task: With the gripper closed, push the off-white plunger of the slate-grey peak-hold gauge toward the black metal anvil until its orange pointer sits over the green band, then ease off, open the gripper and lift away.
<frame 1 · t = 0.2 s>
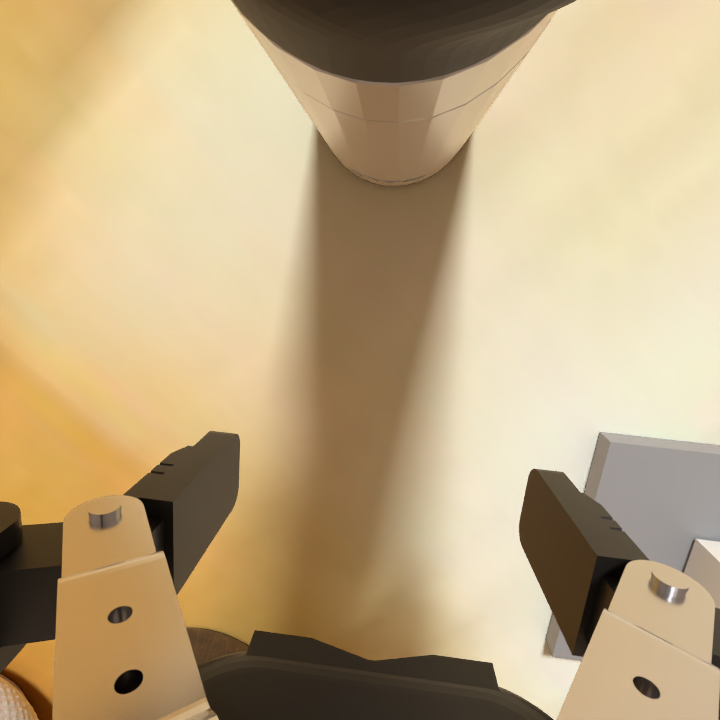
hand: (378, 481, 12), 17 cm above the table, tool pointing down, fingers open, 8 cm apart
wooden container: (205, 688, 39), on the table
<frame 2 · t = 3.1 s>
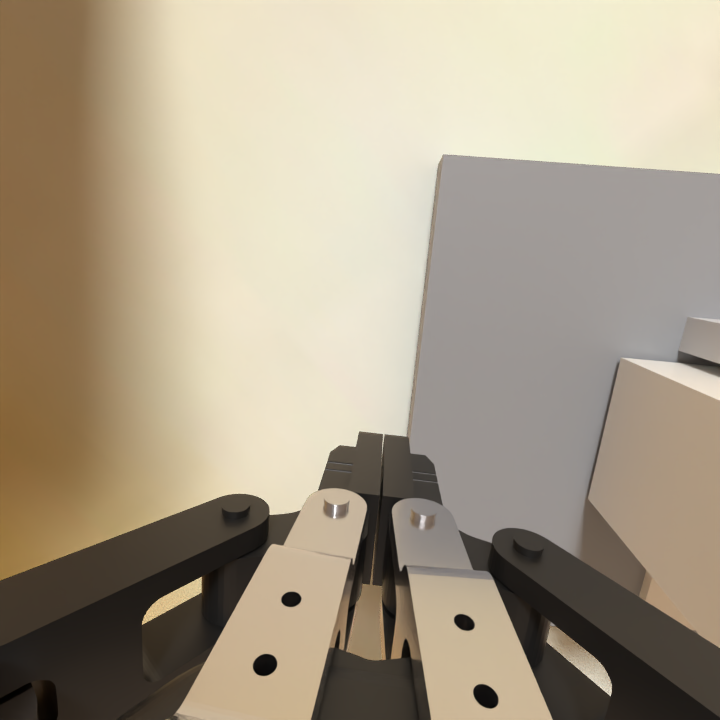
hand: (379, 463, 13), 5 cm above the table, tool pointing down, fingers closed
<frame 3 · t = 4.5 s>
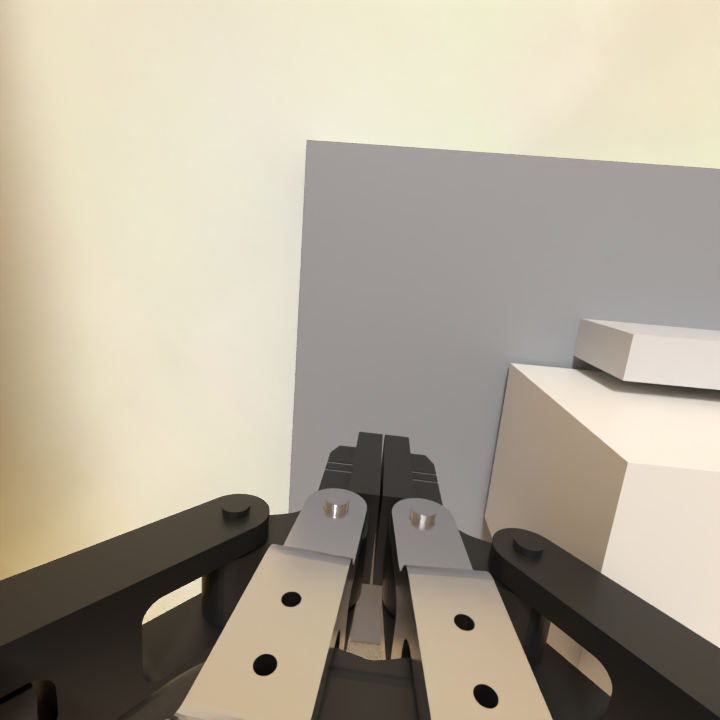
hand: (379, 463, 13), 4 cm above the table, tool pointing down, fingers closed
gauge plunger: (671, 581, 11), point 5 cm above the table, slide at 0.0 cm
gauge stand: (678, 444, 16), on the table
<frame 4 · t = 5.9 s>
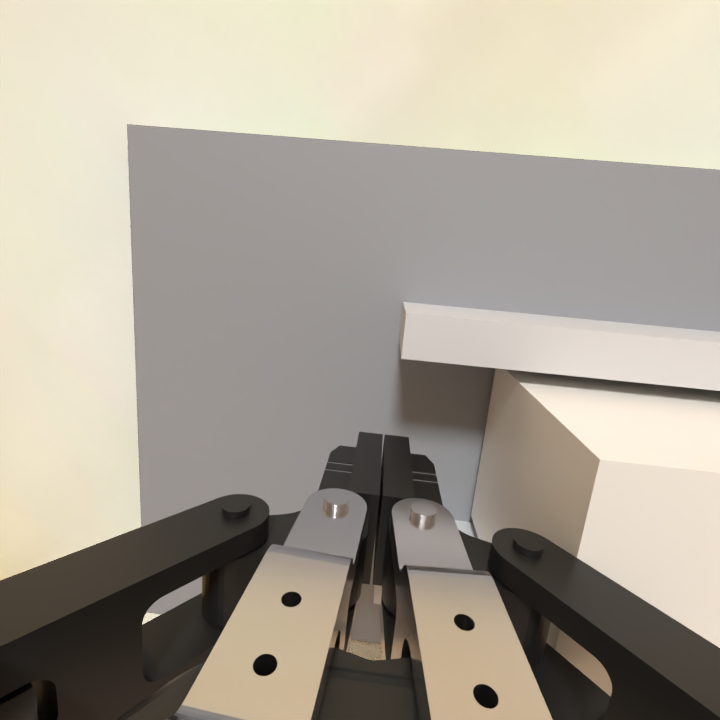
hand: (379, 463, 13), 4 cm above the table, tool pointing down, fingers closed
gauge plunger: (653, 579, 11), point 5 cm above the table, slide at 5.2 cm, touching hand
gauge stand: (522, 428, 16), on the table
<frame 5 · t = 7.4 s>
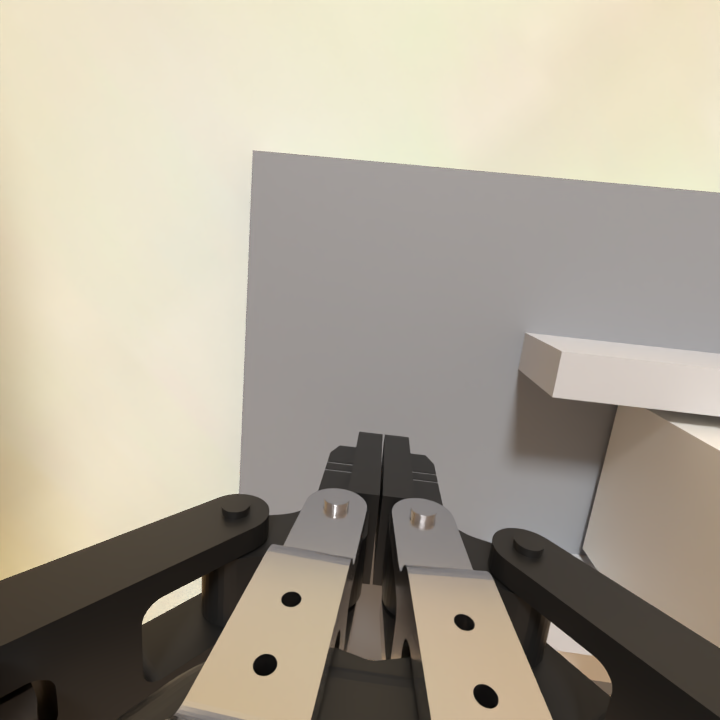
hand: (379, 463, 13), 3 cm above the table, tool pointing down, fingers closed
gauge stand: (627, 458, 16), on the table
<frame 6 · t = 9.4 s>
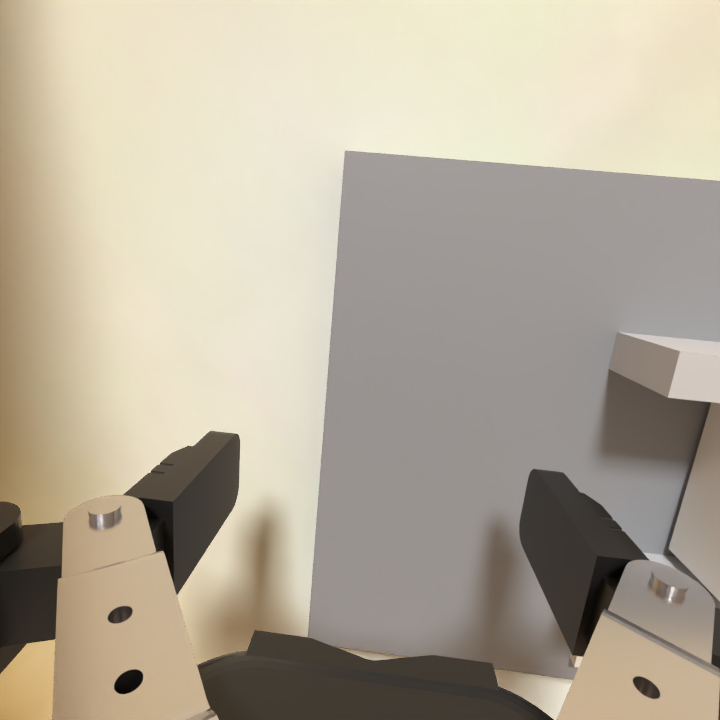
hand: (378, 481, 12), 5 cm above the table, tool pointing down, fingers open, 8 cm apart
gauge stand: (708, 457, 16), on the table
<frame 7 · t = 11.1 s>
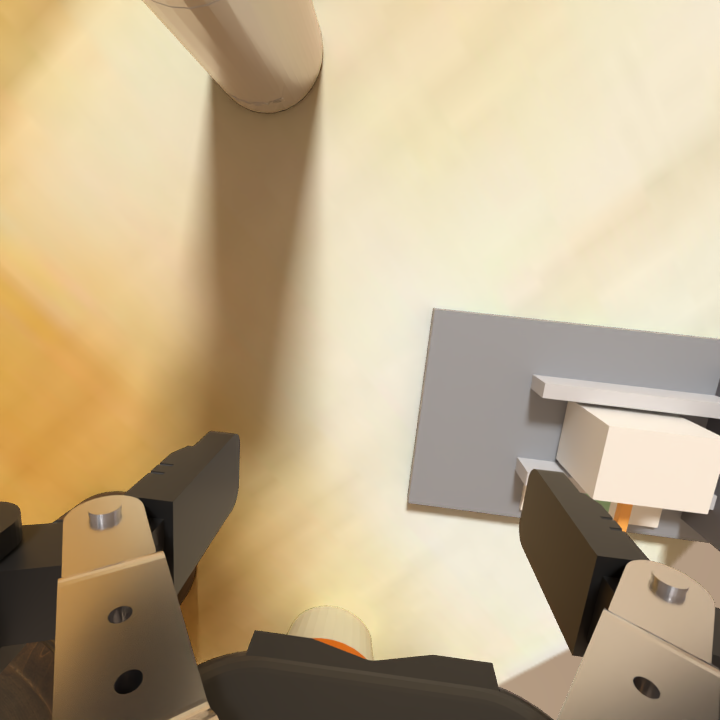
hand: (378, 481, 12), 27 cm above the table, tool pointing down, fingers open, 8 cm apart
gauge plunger: (626, 473, 34), point 5 cm above the table, slide at 5.2 cm
wooden container: (129, 553, 45), on the table
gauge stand: (574, 424, 39), on the table
reusable coffee cup: (329, 641, 45), on the table
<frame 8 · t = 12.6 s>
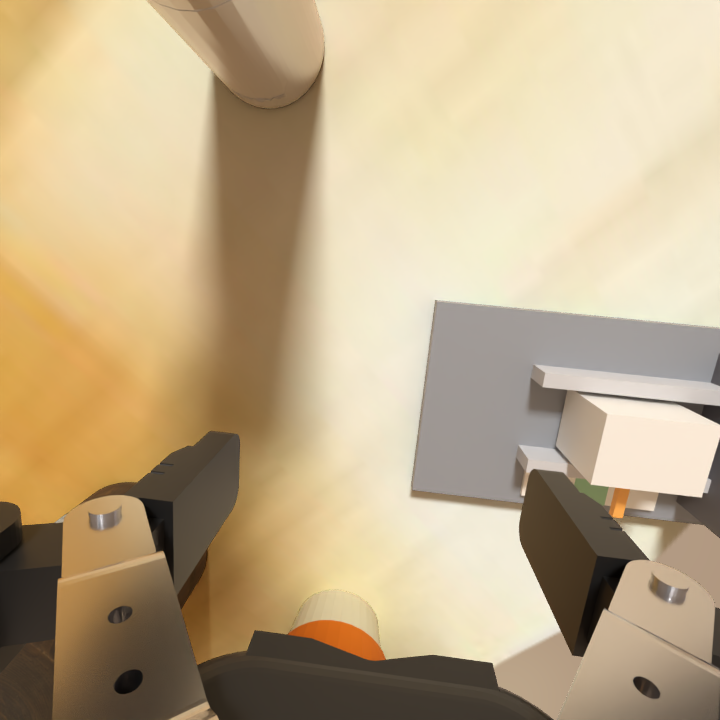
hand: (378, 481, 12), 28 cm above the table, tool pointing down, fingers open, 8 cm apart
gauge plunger: (623, 458, 35), point 5 cm above the table, slide at 5.2 cm
wooden container: (142, 541, 46), on the table
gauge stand: (574, 412, 40), on the table
reusable coffee cup: (337, 623, 47), on the table
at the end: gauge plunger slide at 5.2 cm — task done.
